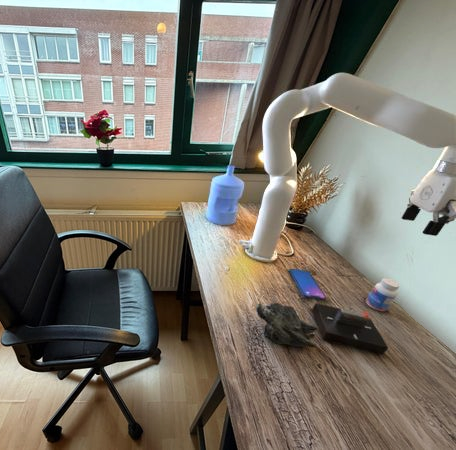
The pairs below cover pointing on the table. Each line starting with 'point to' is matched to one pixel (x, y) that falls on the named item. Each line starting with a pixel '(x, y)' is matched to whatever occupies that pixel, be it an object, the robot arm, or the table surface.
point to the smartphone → (307, 284)
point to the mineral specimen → (285, 325)
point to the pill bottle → (383, 294)
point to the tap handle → (352, 318)
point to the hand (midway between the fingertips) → (417, 226)
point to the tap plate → (347, 331)
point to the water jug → (224, 198)
